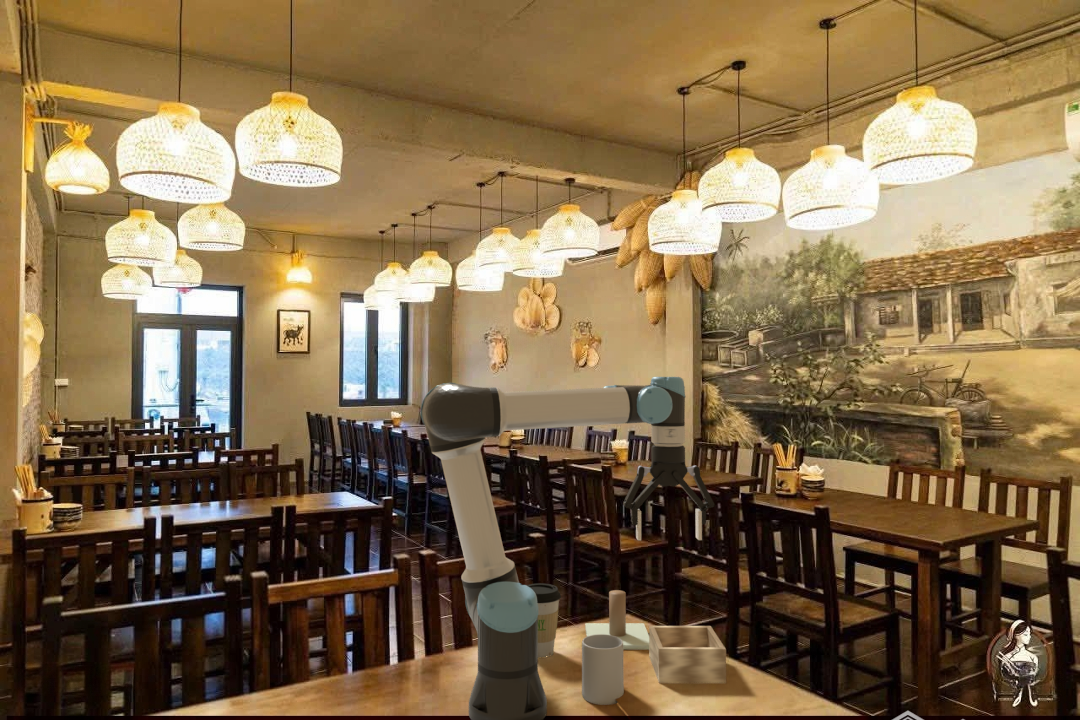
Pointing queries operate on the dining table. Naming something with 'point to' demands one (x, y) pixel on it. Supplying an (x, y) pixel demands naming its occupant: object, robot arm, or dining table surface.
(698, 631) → the box
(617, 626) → the lid
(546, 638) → the coffee cup
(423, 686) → the dining table surface
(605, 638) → the mug
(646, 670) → the dining table surface
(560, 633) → the dining table surface
